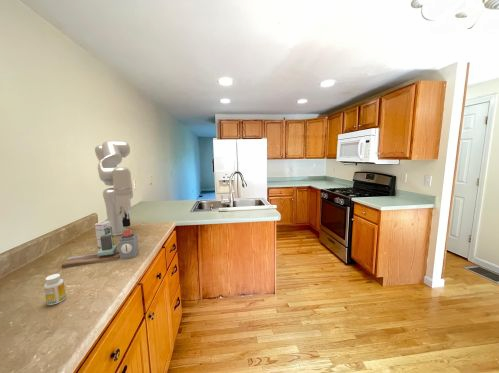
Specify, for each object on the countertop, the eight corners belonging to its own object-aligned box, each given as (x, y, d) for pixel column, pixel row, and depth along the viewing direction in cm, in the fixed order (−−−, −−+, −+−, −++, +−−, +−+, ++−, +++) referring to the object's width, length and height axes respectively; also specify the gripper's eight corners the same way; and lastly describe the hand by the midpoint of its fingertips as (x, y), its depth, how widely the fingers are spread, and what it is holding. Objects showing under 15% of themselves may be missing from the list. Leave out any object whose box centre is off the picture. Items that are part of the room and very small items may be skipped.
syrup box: (106, 247, 124) (103, 223, 122) (97, 247, 126) (94, 223, 123) (114, 243, 130) (111, 220, 128) (105, 243, 131) (102, 220, 129)
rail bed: (71, 258, 112) (70, 253, 111) (123, 251, 119) (123, 246, 119) (61, 268, 102) (61, 263, 102) (119, 259, 110) (118, 254, 110)
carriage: (102, 249, 115) (100, 234, 114) (117, 247, 117) (115, 232, 116) (97, 256, 107) (95, 239, 106) (113, 253, 110) (111, 237, 108)
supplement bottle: (48, 307, 76) (43, 282, 74) (45, 301, 79) (41, 277, 78) (67, 299, 80) (63, 275, 78) (64, 294, 83) (60, 271, 82)
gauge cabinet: (124, 251, 119) (122, 233, 118) (138, 249, 122) (136, 232, 120) (119, 260, 109) (117, 241, 108) (135, 257, 112) (133, 239, 110)
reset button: (124, 234, 116) (123, 230, 115) (133, 233, 117) (132, 229, 117) (122, 237, 112) (121, 233, 111) (131, 236, 113) (131, 231, 113)
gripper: (118, 190, 117) (122, 223, 119) (110, 194, 103) (114, 231, 105) (133, 189, 119) (137, 221, 121) (127, 193, 105) (131, 229, 107)
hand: (126, 226), depth 113 cm, fingers closed
